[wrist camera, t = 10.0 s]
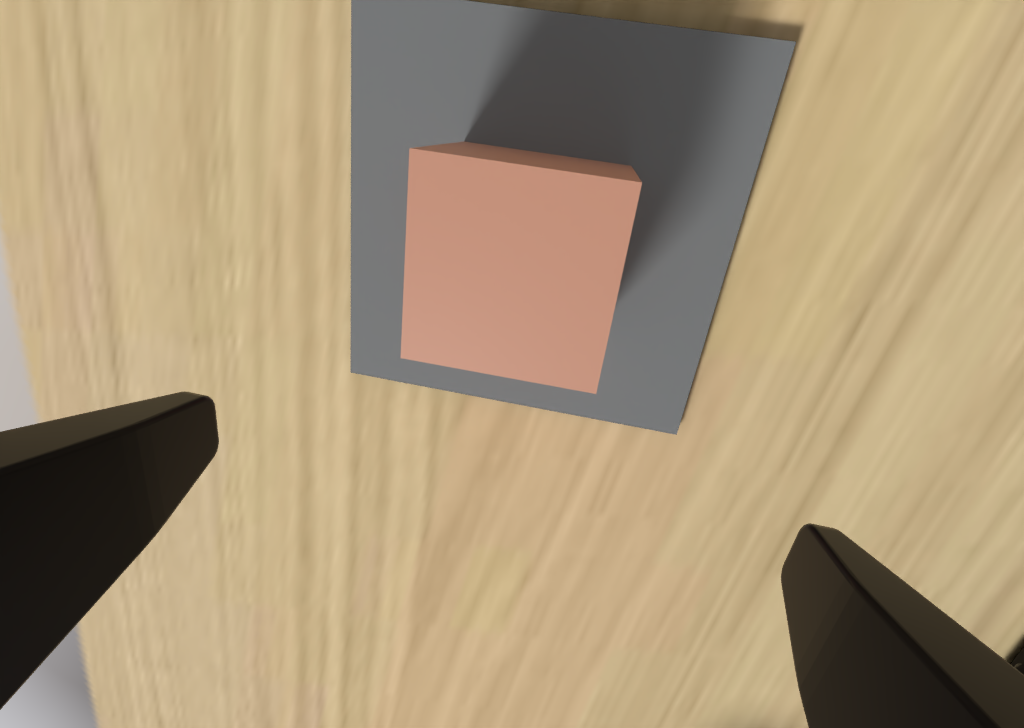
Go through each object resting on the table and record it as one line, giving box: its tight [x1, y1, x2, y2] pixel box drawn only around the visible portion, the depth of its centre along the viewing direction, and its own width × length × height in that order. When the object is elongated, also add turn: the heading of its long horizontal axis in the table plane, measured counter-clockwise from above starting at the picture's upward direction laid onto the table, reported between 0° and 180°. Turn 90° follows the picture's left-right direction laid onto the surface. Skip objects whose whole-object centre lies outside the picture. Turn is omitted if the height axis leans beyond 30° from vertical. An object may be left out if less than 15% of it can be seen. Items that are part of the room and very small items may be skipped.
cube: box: [401, 142, 642, 394], centre depth 15 cm, size 5×5×5 cm
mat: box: [351, 0, 796, 435], centre depth 17 cm, size 12×12×1 cm
